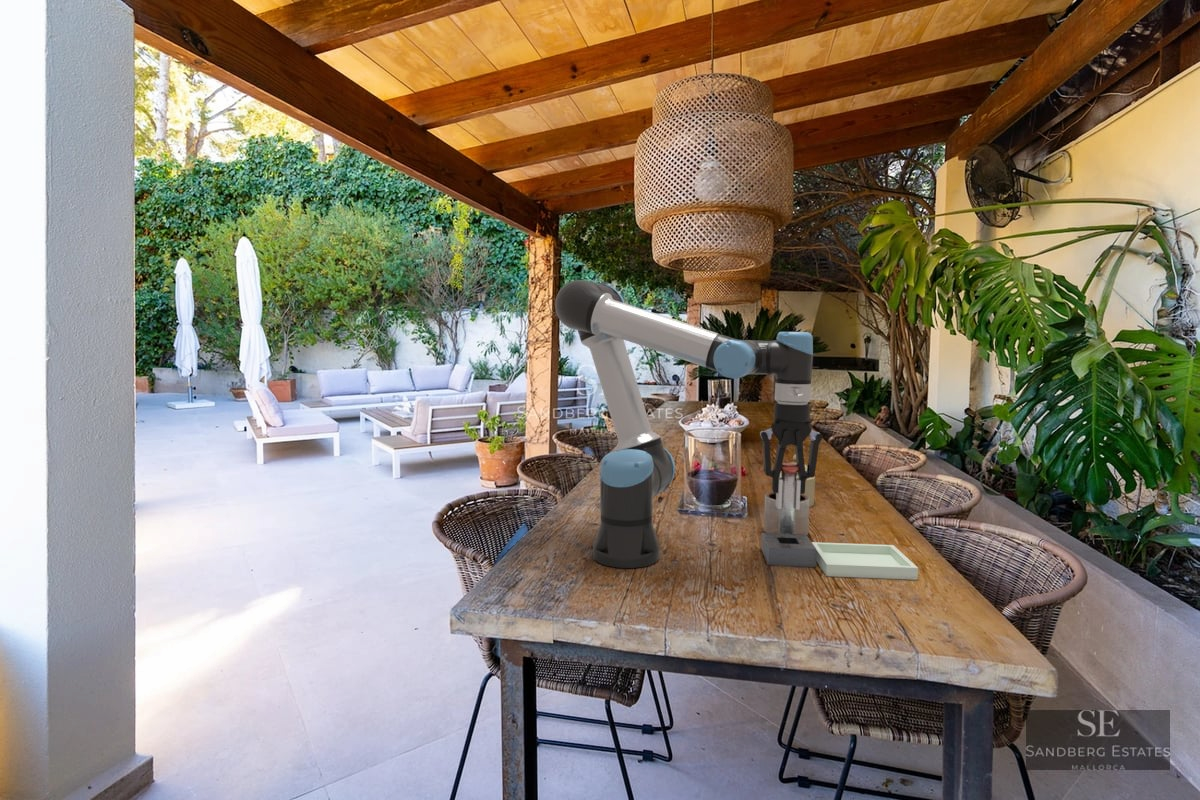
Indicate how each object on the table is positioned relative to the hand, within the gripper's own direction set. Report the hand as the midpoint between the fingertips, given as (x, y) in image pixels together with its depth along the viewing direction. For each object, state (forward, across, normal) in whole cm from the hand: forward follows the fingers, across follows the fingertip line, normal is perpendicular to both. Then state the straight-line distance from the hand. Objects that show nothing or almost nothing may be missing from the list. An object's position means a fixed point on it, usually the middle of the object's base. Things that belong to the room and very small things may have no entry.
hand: (787, 507), depth 137 cm
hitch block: (+12, 0, 0) cm, 12 cm away
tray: (+11, +16, -3) cm, 19 cm away
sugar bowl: (+12, +11, +49) cm, 52 cm away
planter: (+12, +4, +18) cm, 22 cm away
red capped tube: (+6, 0, 0) cm, 6 cm away
